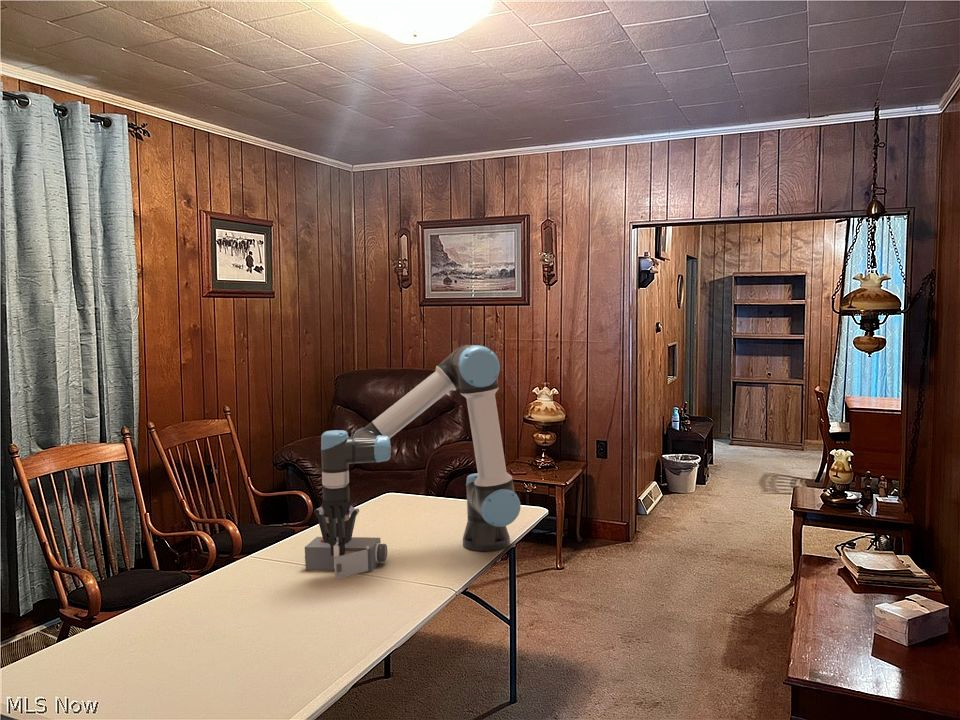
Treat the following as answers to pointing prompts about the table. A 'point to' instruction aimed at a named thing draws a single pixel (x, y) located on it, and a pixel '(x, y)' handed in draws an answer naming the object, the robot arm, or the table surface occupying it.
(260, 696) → the table surface
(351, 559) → the side door
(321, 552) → the camera box
